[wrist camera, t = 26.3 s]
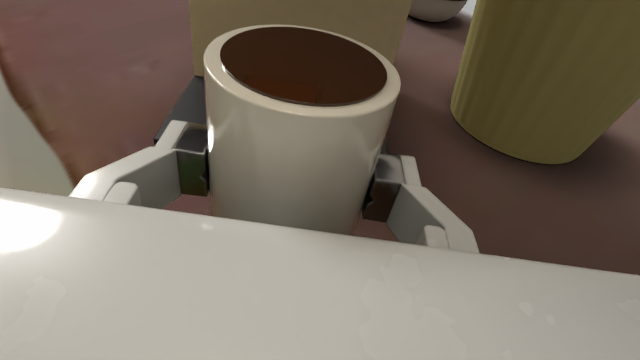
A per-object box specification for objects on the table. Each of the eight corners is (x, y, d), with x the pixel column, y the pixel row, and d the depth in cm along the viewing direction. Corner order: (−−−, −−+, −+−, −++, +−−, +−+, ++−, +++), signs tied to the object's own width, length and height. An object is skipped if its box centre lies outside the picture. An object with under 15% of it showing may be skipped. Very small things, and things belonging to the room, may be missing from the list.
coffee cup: (341, 219, 18) (392, 38, 12) (341, 324, 14) (415, 129, 8) (229, 203, 18) (229, 10, 12) (196, 306, 14) (172, 91, 8)
